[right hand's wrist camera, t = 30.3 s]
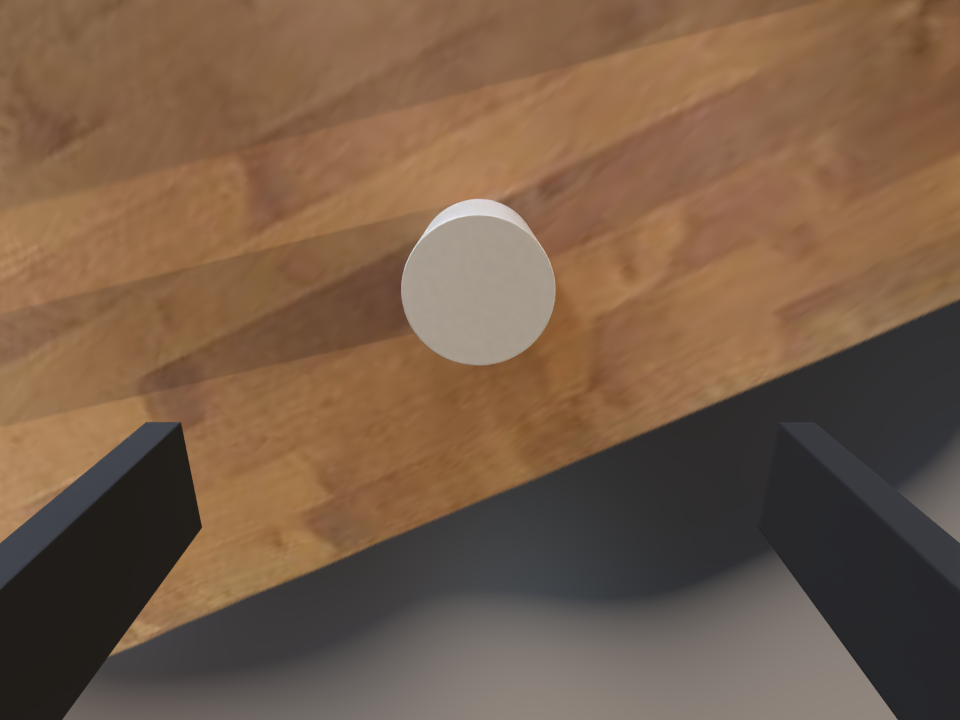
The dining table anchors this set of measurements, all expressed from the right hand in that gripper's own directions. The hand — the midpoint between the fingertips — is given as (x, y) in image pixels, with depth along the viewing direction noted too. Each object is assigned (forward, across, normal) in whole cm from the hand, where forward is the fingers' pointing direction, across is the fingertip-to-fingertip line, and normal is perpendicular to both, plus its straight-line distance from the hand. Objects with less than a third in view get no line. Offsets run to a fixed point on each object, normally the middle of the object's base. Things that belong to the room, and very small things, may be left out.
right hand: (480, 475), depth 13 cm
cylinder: (+28, 0, 0) cm, 28 cm away
